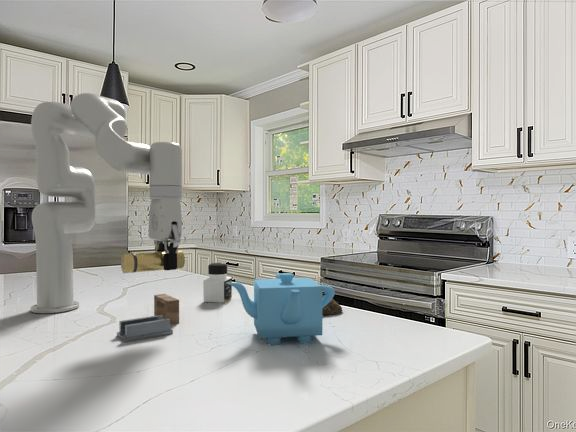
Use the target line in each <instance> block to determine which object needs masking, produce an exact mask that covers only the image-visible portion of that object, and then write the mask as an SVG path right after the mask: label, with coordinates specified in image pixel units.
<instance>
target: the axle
mask: <svg viewBox="0 0 576 432" xmlns="http://www.w3.org/2000/svg"><path fill="white" fill-rule="evenodd" d="M164 253H165V252H157V251H152V252H151V251H149V252H137V253H136V252H135V253H123V254H122V255H121V258H120V268H121V271H122V273H123V274H132V273H133V274H134V273H144V272H154V271H165V270H164ZM185 262H186V257H185V253H184V251H183V250H182V249H181V250H178V253H177V269H183V268H184V267H185ZM177 269H176V270H177Z"/></svg>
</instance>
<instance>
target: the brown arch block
mask: <svg viewBox="0 0 576 432" xmlns="http://www.w3.org/2000/svg"><path fill="white" fill-rule="evenodd" d="M153 303H154V304H153V310H154V311H153V313H154V315H153V316H156V315H163V319H170V326H171V325H175V324H179V323H180V299H178V298H176V297H173V296H171V295H168V294H166V293H161V294H154V295H153Z"/></svg>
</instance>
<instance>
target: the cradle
mask: <svg viewBox="0 0 576 432" xmlns="http://www.w3.org/2000/svg"><path fill="white" fill-rule="evenodd" d="M118 325H119V331H117V332H116V336H117V337H118V338H119V339H120V340H121V341H123V342H124V343H129V342H135V341H141V340H146V339H151V338H156V337H164V336H168V335H173V334H174V332H173V329H172V328H171V325H170V319H165V318H163V315H156V316H154V315H151V316H144V317H137V318H130V319H124V320H119V324H118Z"/></svg>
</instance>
